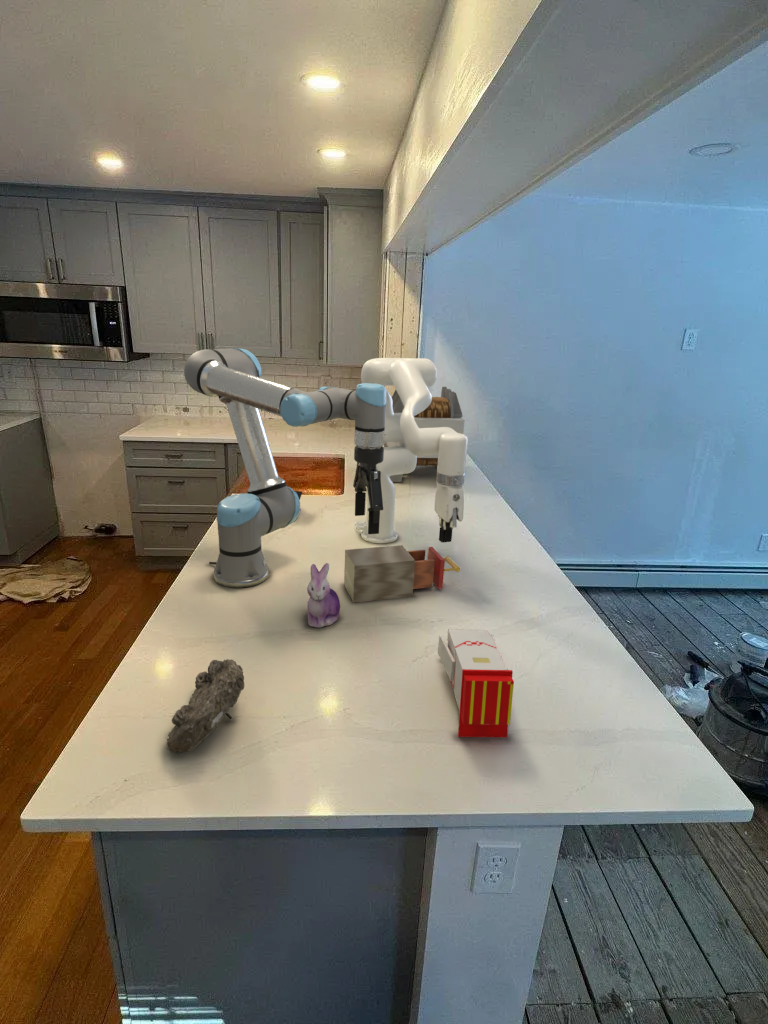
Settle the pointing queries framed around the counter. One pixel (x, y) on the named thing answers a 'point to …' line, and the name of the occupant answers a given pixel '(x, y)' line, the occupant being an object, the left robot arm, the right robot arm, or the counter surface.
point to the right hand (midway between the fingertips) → (445, 540)
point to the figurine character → (299, 494)
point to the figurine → (321, 599)
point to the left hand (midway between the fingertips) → (366, 524)
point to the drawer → (430, 568)
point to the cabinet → (378, 573)
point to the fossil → (206, 705)
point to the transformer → (432, 421)
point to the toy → (478, 682)
